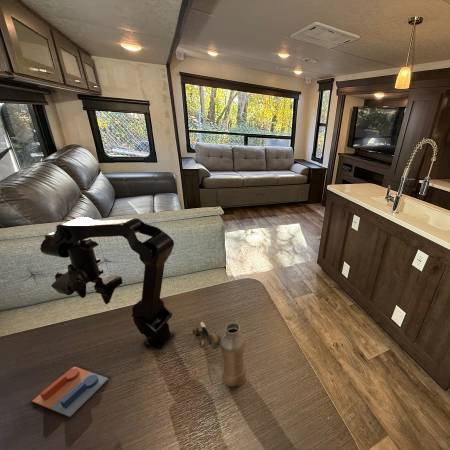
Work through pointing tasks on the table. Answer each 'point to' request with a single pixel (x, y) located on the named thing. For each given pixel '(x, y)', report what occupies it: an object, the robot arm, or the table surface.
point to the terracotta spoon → (59, 383)
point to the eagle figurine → (206, 335)
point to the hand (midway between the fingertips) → (95, 300)
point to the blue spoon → (79, 390)
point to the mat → (55, 399)
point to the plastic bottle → (233, 355)
